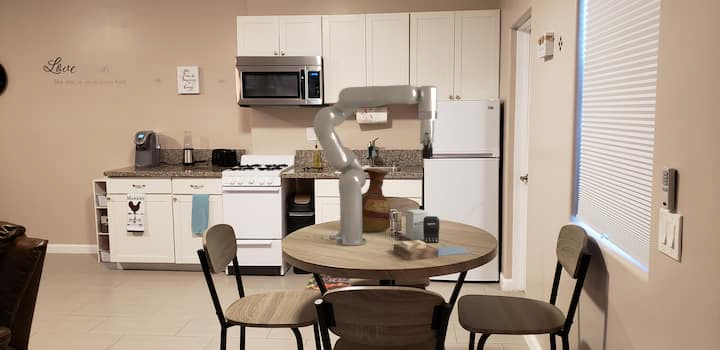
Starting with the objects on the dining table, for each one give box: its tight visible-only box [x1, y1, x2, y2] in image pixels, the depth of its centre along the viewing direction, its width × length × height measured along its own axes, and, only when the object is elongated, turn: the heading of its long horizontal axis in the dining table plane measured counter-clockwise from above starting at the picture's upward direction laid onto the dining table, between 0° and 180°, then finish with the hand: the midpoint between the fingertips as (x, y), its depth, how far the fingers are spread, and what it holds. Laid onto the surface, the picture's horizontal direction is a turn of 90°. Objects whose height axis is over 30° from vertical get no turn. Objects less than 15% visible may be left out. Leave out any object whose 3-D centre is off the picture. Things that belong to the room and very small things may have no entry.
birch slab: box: [400, 239, 427, 250], centre depth 217 cm, size 8×6×2 cm
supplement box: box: [405, 208, 428, 241], centre depth 246 cm, size 7×7×13 cm
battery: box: [422, 215, 440, 244], centre depth 238 cm, size 7×4×11 cm, turn 87°
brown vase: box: [362, 168, 392, 233], centre depth 263 cm, size 20×20×30 cm
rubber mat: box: [434, 245, 472, 257], centre depth 223 cm, size 16×12×1 cm
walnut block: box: [393, 243, 439, 262], centre depth 217 cm, size 12×15×3 cm
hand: (427, 157), depth 228 cm, fingers open, 9 cm apart
